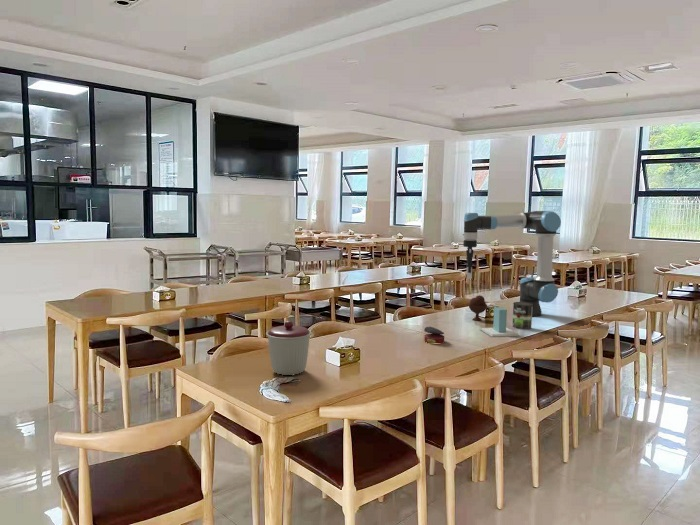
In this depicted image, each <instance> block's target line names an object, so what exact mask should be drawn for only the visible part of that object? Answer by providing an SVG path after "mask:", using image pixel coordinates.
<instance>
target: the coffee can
mask: <svg viewBox="0 0 700 525" xmlns="http://www.w3.org/2000/svg"><path fill="white" fill-rule="evenodd" d="M512 308H513V309H512V328H514V329H516V330H523V331H524V330H531V329H532V327H533V326H532V324H533V323H532V322H533V316H532V308H533V304H532V303H528V302H519V301H515V302H513V306H512Z"/></svg>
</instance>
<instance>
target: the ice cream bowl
mask: <svg viewBox="0 0 700 525" xmlns="http://www.w3.org/2000/svg"><path fill="white" fill-rule="evenodd" d="M467 304H468V305H467V306H468V309H470V310H471V312H472V313H473V314H475V317H473V318H472V321H474V322H481V321H483V319H482V318H480V316H479V315H480V314H481V313H484V312H485V311H486V310H487V307H488V304H487V303H486V300H485V298H484V296H483V295H481V294H479V295H476V296H475V297H471V299H470V300H469V303H467Z"/></svg>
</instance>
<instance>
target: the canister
mask: <svg viewBox="0 0 700 525" xmlns="http://www.w3.org/2000/svg"><path fill="white" fill-rule="evenodd" d="M311 334H312V331H311V330H310V329H309V328H307V327H304V326H301V325H295V324H294V322H293V321H291V320H286V321H285V322H284V324H283V325H279V326H274V327H272V328H270V329H269V330H267V331H266V332H265V336H267V340H268V350H269V359H270V363H271V369H272V371H273V372H274V374H276V373H277V374H276V375H279V374H282V375H281V376H283V375H292V376H294V375H293V374H298V375H300V374H302V373H303V372H305V370H306V368H307V361H308V356H309V355H308V354H309V346H310V336H311ZM301 372H302V373H301ZM299 373H300V374H299Z"/></svg>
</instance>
